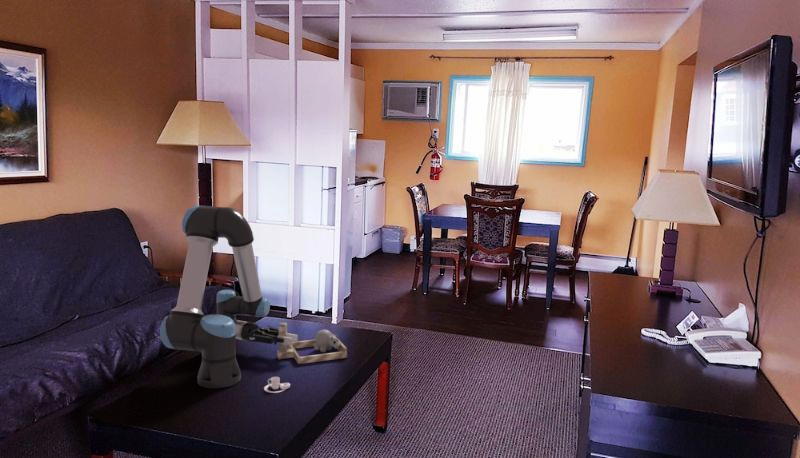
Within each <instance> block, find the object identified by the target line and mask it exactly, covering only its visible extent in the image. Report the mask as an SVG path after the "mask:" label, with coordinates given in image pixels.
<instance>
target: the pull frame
mask: <svg viewBox="0 0 800 458" xmlns="http://www.w3.org/2000/svg"><path fill="white" fill-rule="evenodd" d="M278 329H279V336H284V337H287V333H288V323H287V322H279V323H278ZM332 335H333V336H336V334H335V333H332ZM338 341H340V348H339V349H336V350H337V351H335V352H329V353H327V352H325V353H320V354H311V355H305V356H304V355H303V356H300V354H299V353H298V352H297V350H296V349H300V348H301V349H302V348H308V347H309V348H310V347H314V345H315V343H316V342H315V339H308V340H298V342H294V341H292V345H288V344H283V343H278V350H277V351H276V352H277V353H276V357H277V359H278V360H283V359H290V358H293V359H294V360H295V361H296V363H297V365H303V364H309V363H316V362H317V363H318V362H323V361H331V360H339V359H345V358H347V357H348V348H347V346H346V345H344V343H343V342H342V341H341V340H340V339H339V338H338Z"/></svg>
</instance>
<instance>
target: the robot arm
mask: <svg viewBox="0 0 800 458" xmlns="http://www.w3.org/2000/svg"><path fill="white" fill-rule="evenodd" d="M181 221H182V222H181V227H182V232H183V234H184V235H186V236H185V239H186V240H187V242H188V248H187V250H186V251H187V252H186V257H185V262H184V267H183V272H182V277H181V283H180V286H179V292H178V296H177V303H176V306H175V307H173V308H172V309H171V310H170V315H167V316H165V317H164V318H163V320H162V321H161V324H160V328H159V335H160V340H161V342H162V344H163V345H164V346H165V347H166V348H168V349H174V350H178V351H180V350H182V351H190V352H200V353H201V364H200V367H199V370H198V373H197V379H196V380H197V384H198V386H200V387H202V388H206V389H223V388H228V387H229V388H230V387H232V386H234V385H236V384H238V383H239V382H240V381H241V379H242V372H241V368H240V366H239V363H238V360H237V357H236V356H237V354H236V349H237V348H236V347H237V346H236V340H239V341H241V340H242V341H247V342H250V343H251V342H253V343H254V342H255V343H262V344H268V345H277V344H279V343H283V344H287V346H288V345H292V342H298V341H299V338H298V337H299V335H298V334H295V333H294V334H293V333H288V332H287V337H284V336H279V328H276V327H273V326H269V325H267V327H266V328H264V327H259V326H258V324H257V323H256V322H252V321H251V322H250V321H244V320H239V319H237V316H247V317H248V316H249V317H255V318H258V317H262V318H265V317H266V316H268V314H269V312H270V308H271V303H270V300H269V299H268V298H265V297H263V294H262V291H261V290H262V289H261V285H260V279H259V275H258V269H257V264H256V259H255V254H254V248H253V243H254V240H255V237H254V233H253V231H252V228H251V226H250V224H249V222H248V220H247V219H246V218H245V216H244V215H242V213H241V212H239V211H238V210H236V209H235V208H232V207H228V206H212V205H211V206H210V205H195V206H191V207H190V208H188V209H187V210H186V211H185V213H184V215H183V218H182V220H181ZM221 238H223V239H226V240H227V244H228V246H229V247H231V249H232V253H233V259H234V262H235V268H236V271H237V272H236V273H237V276H238V281H239V282H238V283H239V286H240V289H241V295H242V296H238V295H236V291H235V290H232V289H222V290H219V291H218V292H217V293H216V302H215V303H216V314H206V315H205V314H204V312H203V311H202V305H203V301H204V300H203V299H204V295H205V289H206V283H207V280H208V272H209V269H210V264H211V258H212V252H213V248H214V247H215V246H217V245H218V244H219V239H221Z"/></svg>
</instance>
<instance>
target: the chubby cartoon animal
mask: <svg viewBox="0 0 800 458" xmlns="http://www.w3.org/2000/svg"><path fill="white" fill-rule="evenodd" d="M332 334H333V333H332V332H331V331H330V330H328V329H321V330H319V331H317V333H316V334H315V337H314V340H315V342H316V343H315V345H314V346H313V349H314V350H315V351H320V352H321V353H327V351H332V350H333V348H334V349H335V350H337V349H339V348H340V341H341V340H340V341H338V339H339V338H338V336H339V335H338V334H335V336H333V335H332Z"/></svg>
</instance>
